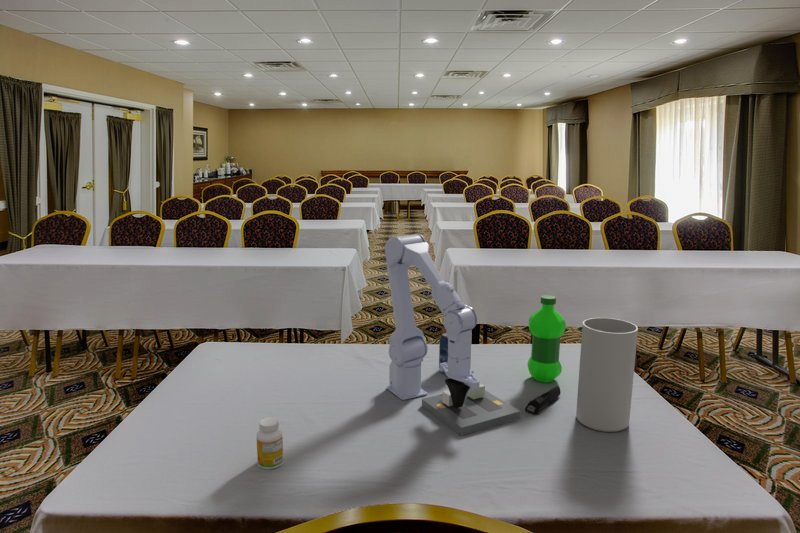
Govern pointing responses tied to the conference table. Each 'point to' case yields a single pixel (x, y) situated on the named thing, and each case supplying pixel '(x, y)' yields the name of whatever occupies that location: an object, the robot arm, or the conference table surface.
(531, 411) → the electric trimmer
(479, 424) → the switch panel
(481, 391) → the tab sage
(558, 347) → the plastic bottle
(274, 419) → the supplement bottle
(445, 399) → the light grey block
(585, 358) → the cylinder vase
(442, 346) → the soda can
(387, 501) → the conference table surface
